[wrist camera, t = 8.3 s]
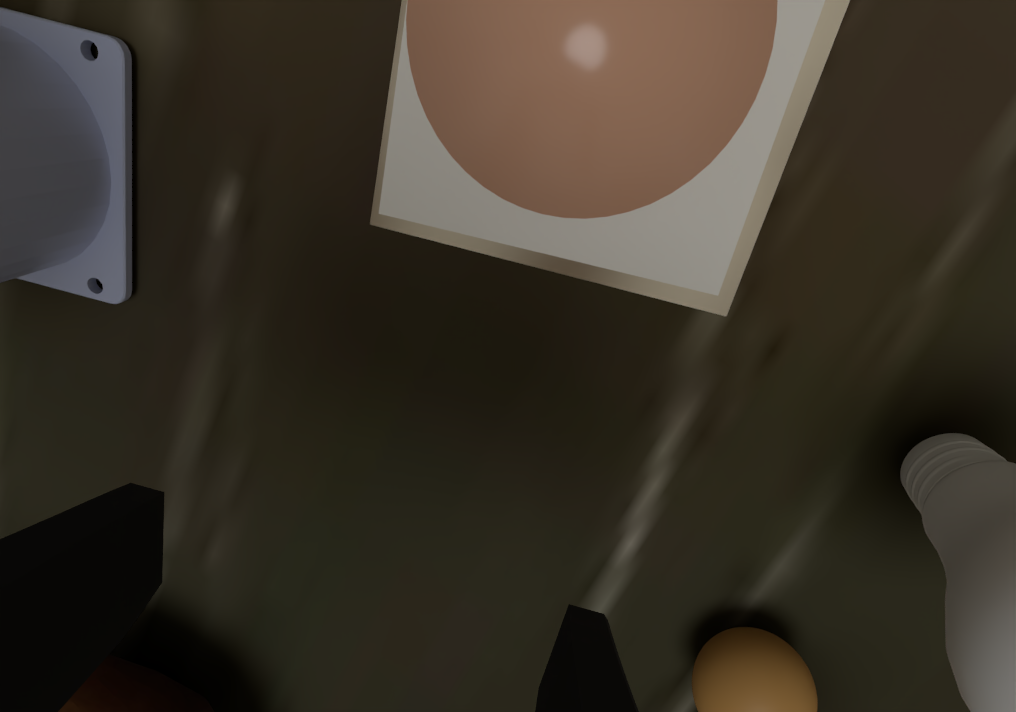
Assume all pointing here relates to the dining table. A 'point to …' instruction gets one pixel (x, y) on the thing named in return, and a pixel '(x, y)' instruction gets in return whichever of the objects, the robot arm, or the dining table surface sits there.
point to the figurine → (751, 674)
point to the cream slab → (619, 238)
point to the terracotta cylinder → (587, 93)
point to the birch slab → (691, 298)
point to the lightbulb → (972, 559)
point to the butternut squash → (133, 691)
